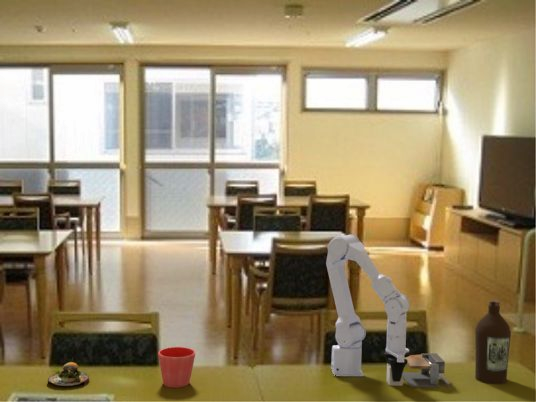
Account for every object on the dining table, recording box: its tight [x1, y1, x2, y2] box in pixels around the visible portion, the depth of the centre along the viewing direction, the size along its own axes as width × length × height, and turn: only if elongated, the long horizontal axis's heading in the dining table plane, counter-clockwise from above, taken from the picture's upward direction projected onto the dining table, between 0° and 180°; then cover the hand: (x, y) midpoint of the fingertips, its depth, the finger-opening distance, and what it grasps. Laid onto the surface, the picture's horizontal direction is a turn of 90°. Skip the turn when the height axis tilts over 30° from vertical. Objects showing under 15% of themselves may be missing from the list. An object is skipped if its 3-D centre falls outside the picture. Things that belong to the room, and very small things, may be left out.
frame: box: [420, 353, 451, 388], centre depth 217 cm, size 6×12×7 cm, turn 2°
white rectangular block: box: [386, 363, 404, 386], centre depth 214 cm, size 4×4×6 cm
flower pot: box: [157, 346, 196, 388], centre depth 209 cm, size 11×11×10 cm
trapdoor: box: [404, 352, 446, 374], centre depth 217 cm, size 10×9×4 cm
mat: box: [403, 371, 440, 388], centre depth 217 cm, size 9×13×1 cm
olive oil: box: [474, 299, 512, 385], centre depth 219 cm, size 11×11×25 cm
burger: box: [47, 357, 90, 387], centre depth 208 cm, size 12×12×8 cm
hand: (394, 378), depth 214 cm, fingers closed on white rectangular block, 4 cm apart
